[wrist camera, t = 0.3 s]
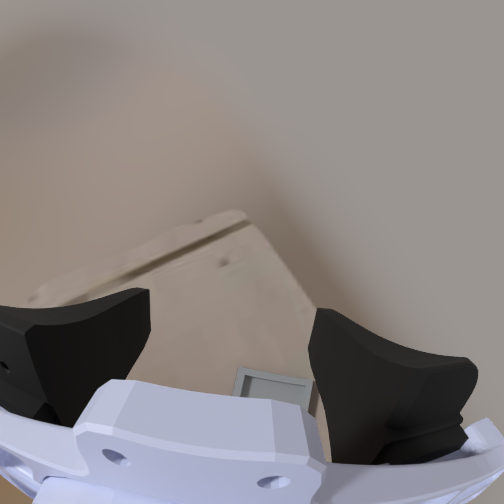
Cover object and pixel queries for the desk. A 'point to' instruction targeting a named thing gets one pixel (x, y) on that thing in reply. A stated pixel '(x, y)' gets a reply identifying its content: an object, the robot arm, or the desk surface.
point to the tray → (272, 387)
